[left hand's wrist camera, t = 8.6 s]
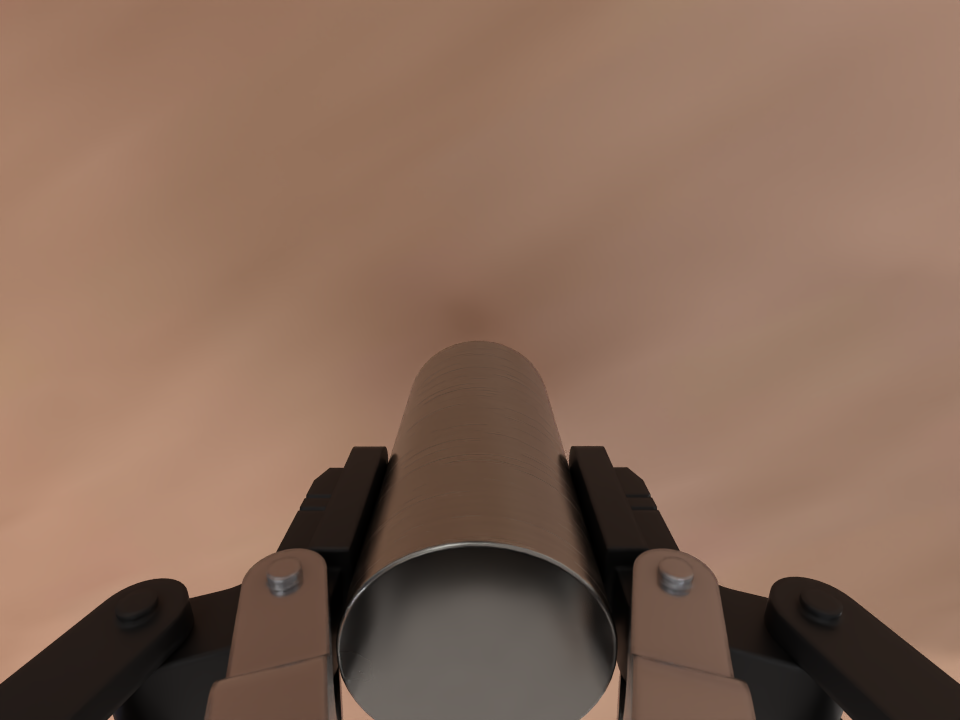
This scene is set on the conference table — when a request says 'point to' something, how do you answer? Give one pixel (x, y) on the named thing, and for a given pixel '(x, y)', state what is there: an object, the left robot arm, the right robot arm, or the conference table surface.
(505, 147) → the conference table surface
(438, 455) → the tin
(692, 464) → the conference table surface
